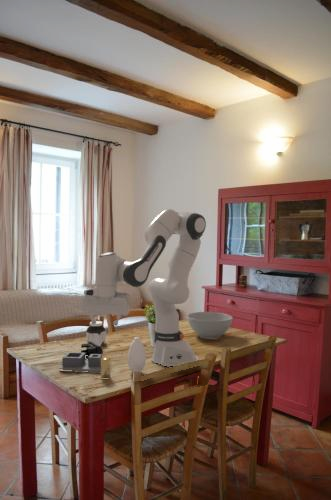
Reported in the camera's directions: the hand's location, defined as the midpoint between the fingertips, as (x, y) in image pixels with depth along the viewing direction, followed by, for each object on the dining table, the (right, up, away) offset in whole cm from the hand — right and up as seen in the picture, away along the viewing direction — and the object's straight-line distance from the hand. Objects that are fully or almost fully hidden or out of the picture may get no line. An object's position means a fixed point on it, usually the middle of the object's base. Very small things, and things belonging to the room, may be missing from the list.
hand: (104, 324), depth 162 cm
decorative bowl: (+51, -21, +68) cm, 88 cm away
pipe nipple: (0, -22, -1) cm, 22 cm away
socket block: (-11, -21, +11) cm, 26 cm away
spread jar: (-12, -20, +47) cm, 52 cm away
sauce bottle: (+13, -22, +5) cm, 26 cm away
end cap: (-10, -21, +25) cm, 34 cm away
